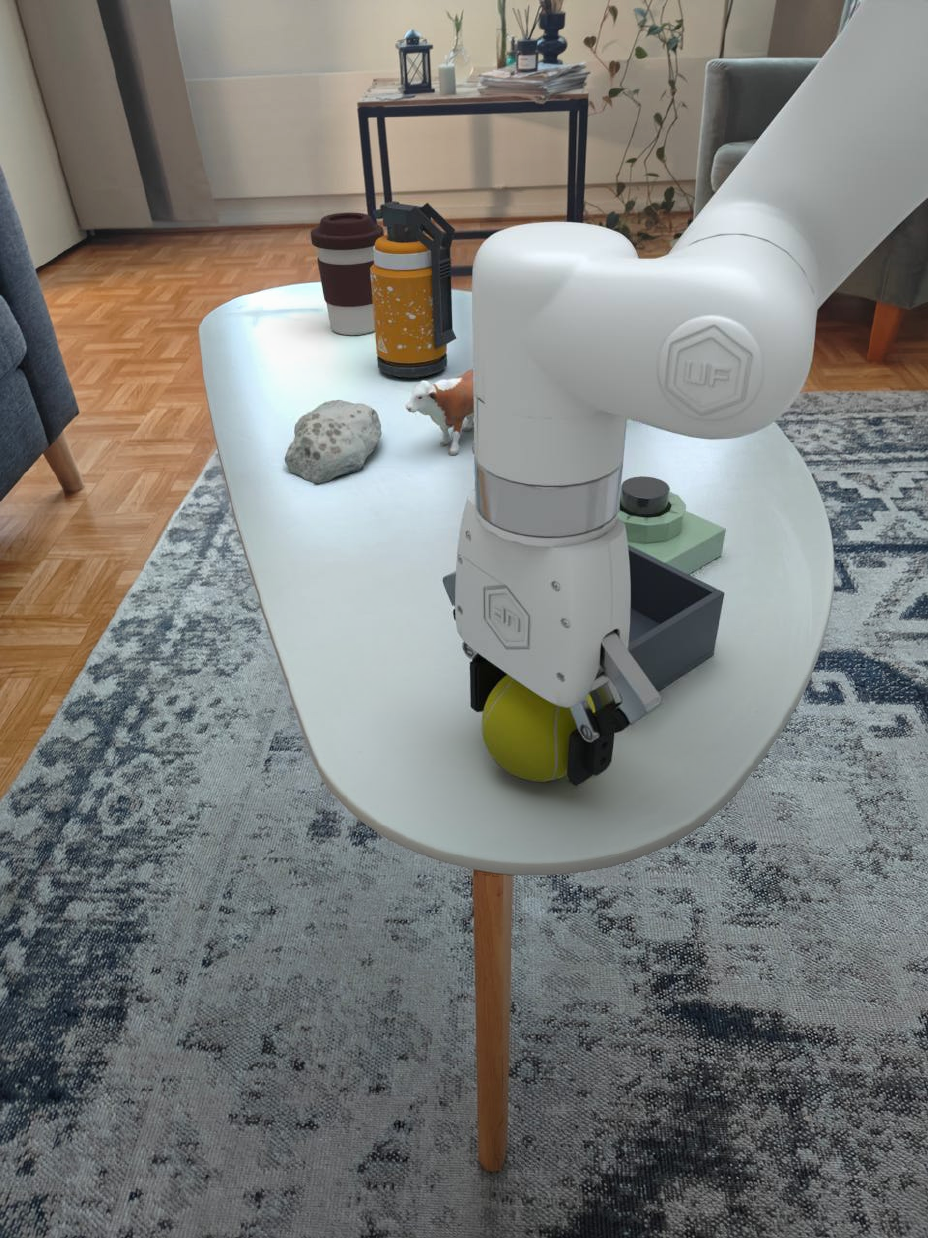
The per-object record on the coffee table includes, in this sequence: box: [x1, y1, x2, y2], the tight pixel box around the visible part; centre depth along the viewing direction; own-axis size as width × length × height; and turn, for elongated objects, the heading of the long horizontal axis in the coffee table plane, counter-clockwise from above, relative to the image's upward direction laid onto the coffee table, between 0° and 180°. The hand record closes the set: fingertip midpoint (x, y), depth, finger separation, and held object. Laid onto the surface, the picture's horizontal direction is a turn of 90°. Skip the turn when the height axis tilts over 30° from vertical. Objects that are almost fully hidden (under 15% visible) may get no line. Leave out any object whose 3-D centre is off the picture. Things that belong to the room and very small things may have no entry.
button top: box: [620, 475, 671, 518], centre depth 76 cm, size 4×4×2 cm
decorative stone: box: [284, 399, 383, 485], centre depth 94 cm, size 12×11×5 cm
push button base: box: [618, 491, 727, 575], centre depth 78 cm, size 11×9×4 cm
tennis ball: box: [481, 674, 596, 783], centre depth 56 cm, size 7×7×7 cm
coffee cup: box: [310, 212, 385, 336], centre depth 126 cm, size 10×10×15 cm
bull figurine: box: [405, 368, 474, 456], centre depth 96 cm, size 4×13×8 cm, turn 139°
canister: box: [370, 200, 457, 379], centre depth 110 cm, size 9×11×20 cm
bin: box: [590, 545, 725, 711], centre depth 66 cm, size 11×11×6 cm
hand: (538, 734), depth 56 cm, fingers open, 8 cm apart
